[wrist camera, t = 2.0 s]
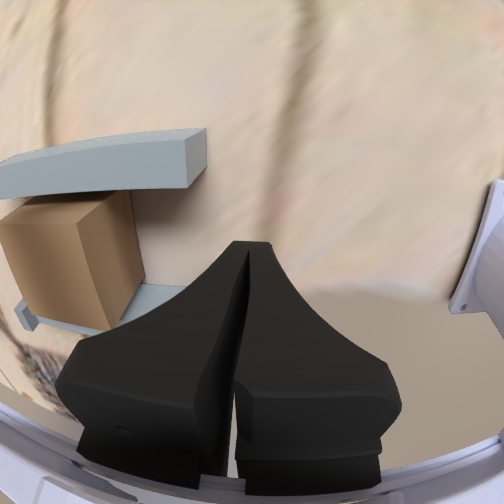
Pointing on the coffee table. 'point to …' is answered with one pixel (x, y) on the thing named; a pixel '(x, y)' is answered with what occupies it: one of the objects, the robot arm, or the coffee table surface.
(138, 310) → the pair of lipped bars
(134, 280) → the walnut block
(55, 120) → the coffee table surface
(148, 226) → the coffee table surface
